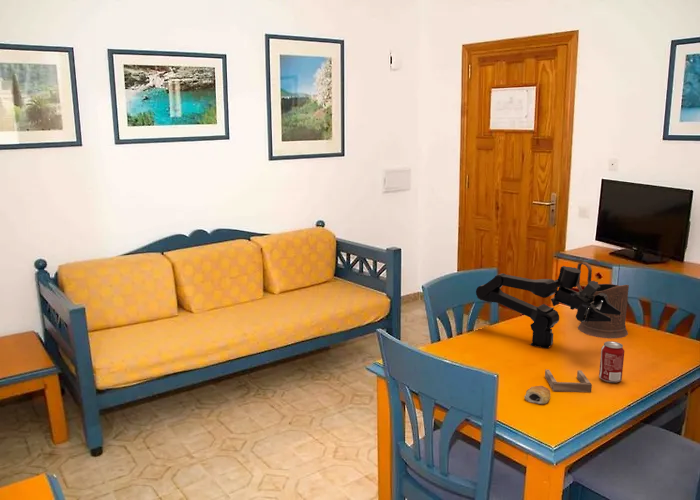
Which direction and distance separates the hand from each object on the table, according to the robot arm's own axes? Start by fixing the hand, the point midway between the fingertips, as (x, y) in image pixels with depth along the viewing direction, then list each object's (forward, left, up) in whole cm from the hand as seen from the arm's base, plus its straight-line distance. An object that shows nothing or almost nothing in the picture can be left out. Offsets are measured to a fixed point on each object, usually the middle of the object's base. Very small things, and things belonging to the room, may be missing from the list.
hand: (615, 316), depth 206 cm
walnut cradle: (-9, -26, -16) cm, 32 cm away
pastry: (-14, -41, -17) cm, 46 cm away
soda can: (+2, -15, -17) cm, 23 cm away
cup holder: (-11, +34, -17) cm, 40 cm away
